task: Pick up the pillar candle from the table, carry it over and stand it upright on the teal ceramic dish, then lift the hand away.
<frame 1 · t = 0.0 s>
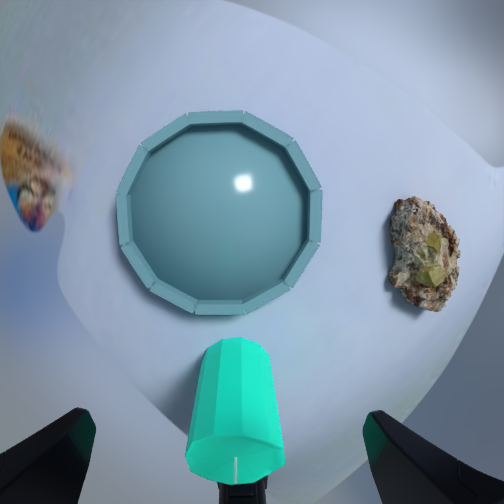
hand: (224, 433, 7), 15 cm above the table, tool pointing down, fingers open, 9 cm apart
mineral rock: (419, 249, 22), on the table
candle: (236, 364, 24), on the table
dish: (218, 213, 20), on the table
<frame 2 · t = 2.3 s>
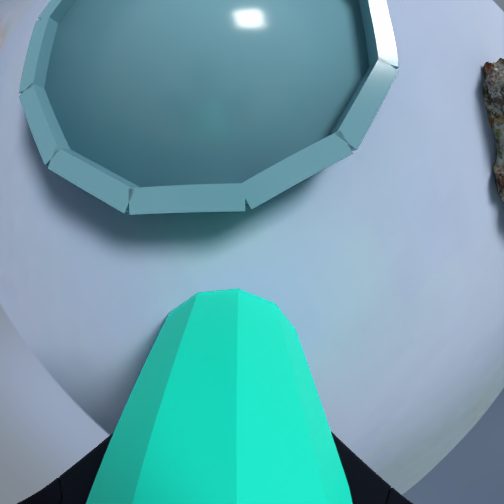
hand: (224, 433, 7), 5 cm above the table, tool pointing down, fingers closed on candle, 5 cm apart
candle: (228, 350, 12), on the table, touching gripper
dish: (198, 33, 8), on the table
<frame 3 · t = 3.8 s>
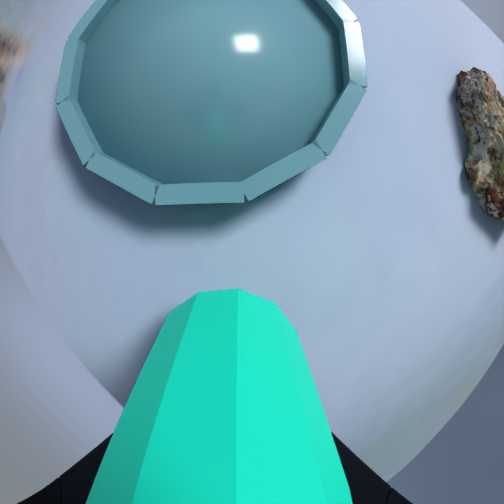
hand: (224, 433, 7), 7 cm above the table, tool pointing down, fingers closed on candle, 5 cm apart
mineral rock: (489, 147, 13), on the table
candle: (228, 350, 12), point 3 cm above the table, touching gripper
dish: (206, 59, 11), on the table
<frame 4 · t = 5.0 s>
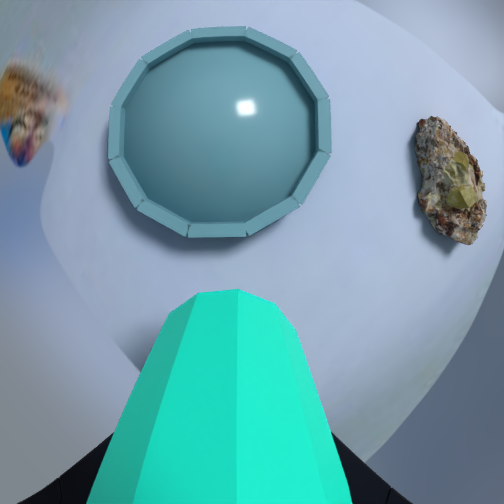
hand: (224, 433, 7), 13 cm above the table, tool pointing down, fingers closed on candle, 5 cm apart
mineral rock: (444, 178, 19), on the table
candle: (228, 350, 12), point 8 cm above the table, touching gripper
dish: (218, 128, 17), on the table
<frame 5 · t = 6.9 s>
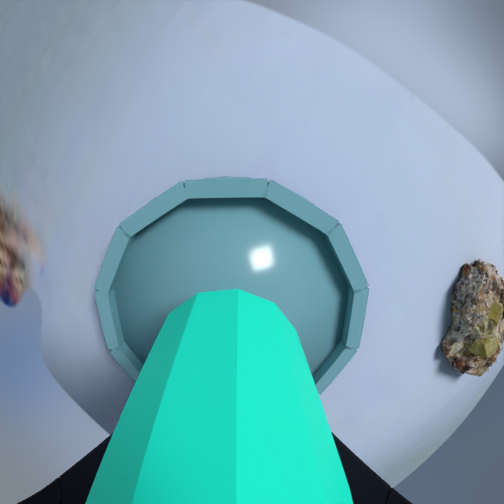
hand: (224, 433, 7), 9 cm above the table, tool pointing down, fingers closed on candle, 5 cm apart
mineral rock: (472, 312, 17), on the table
candle: (228, 350, 12), point 4 cm above the table, touching gripper
dish: (230, 309, 16), on the table
when the fingers open (7 cm above the table, at t = 8.1 s): candle drops 1 cm, resting on dish.
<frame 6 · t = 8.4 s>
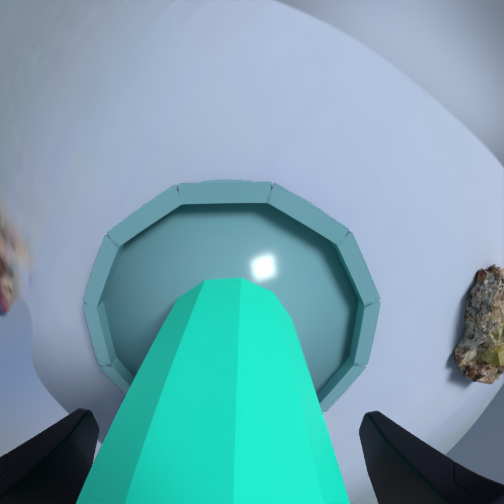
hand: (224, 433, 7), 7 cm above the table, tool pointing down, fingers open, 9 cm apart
mineral rock: (484, 319, 16), on the table
candle: (229, 335, 13), point 1 cm above the table, touching dish
dish: (229, 323, 14), on the table
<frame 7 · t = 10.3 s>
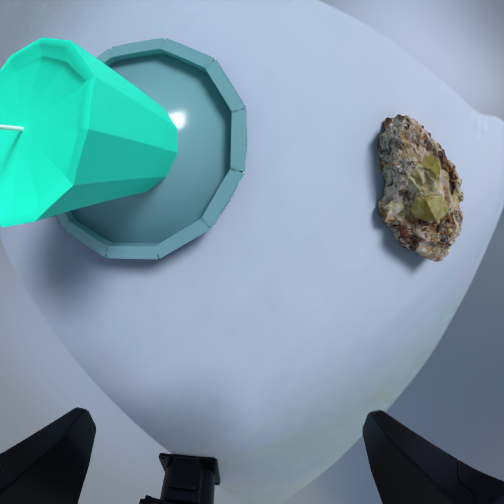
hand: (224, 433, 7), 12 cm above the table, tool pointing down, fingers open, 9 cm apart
mineral rock: (414, 184, 18), on the table
candle: (133, 146, 16), point 1 cm above the table, touching dish
dish: (138, 147, 17), on the table
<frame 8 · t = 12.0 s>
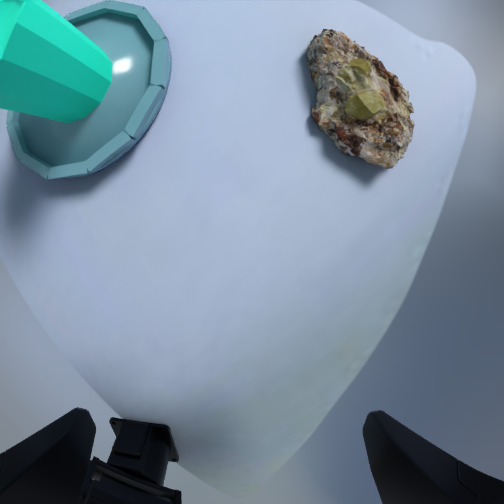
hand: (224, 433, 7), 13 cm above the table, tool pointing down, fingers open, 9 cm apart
mineral rock: (354, 97, 17), on the table
candle: (78, 84, 15), point 1 cm above the table, touching dish
dish: (84, 87, 16), on the table
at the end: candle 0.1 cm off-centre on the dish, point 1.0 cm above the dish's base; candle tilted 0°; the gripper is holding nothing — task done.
